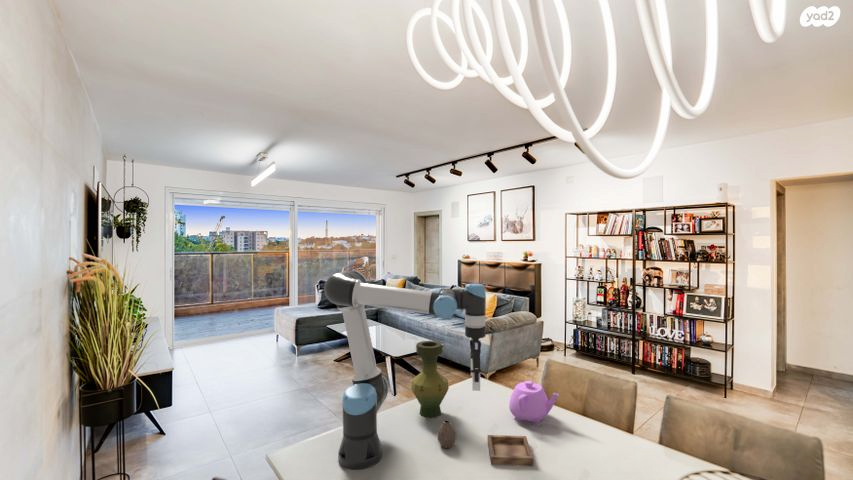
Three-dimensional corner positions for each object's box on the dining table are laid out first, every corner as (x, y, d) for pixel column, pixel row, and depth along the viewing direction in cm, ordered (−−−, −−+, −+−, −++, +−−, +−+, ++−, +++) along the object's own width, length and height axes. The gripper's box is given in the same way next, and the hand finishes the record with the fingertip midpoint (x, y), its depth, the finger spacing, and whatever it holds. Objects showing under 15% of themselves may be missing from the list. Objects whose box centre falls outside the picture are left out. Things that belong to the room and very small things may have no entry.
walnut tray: (490, 464, 126) (490, 456, 126) (487, 441, 140) (487, 434, 140) (533, 466, 125) (533, 458, 125) (526, 443, 139) (525, 436, 139)
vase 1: (454, 409, 167) (453, 341, 167) (439, 425, 153) (438, 351, 153) (422, 402, 174) (421, 337, 174) (404, 417, 160) (403, 346, 160)
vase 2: (455, 451, 134) (454, 426, 134) (436, 449, 135) (435, 425, 135) (457, 441, 141) (457, 417, 141) (439, 439, 142) (439, 416, 142)
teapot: (551, 437, 142) (551, 397, 142) (501, 424, 153) (500, 387, 153) (563, 416, 159) (562, 380, 159) (516, 405, 170) (516, 372, 170)
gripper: (488, 334, 127) (488, 397, 127) (482, 318, 152) (482, 371, 152) (466, 334, 127) (466, 396, 127) (464, 318, 152) (464, 370, 152)
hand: (475, 382), depth 140 cm, fingers open, 13 cm apart
